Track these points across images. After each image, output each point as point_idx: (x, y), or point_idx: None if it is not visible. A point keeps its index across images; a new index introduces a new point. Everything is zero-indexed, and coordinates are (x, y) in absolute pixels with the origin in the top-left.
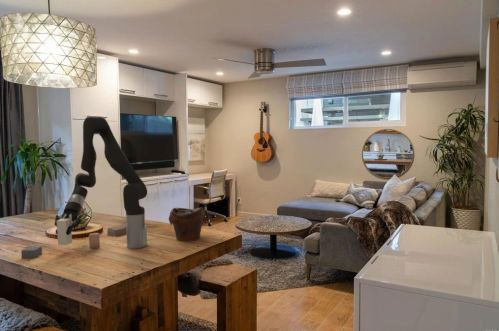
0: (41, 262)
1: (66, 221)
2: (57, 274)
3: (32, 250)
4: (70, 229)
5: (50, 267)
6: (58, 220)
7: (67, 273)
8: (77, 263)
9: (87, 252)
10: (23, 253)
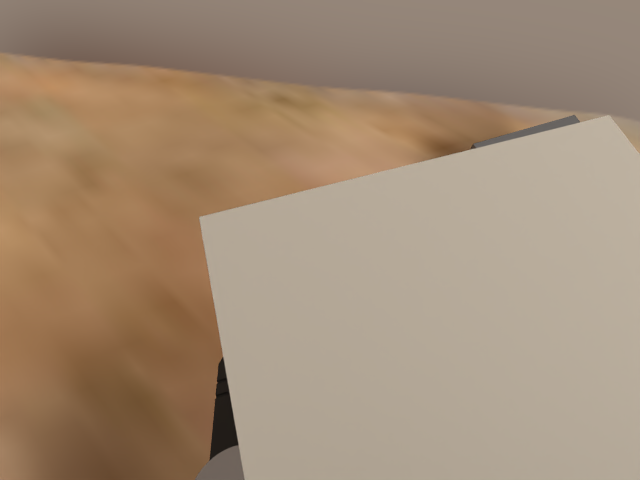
0: (316, 146)
1: (230, 314)
2: (62, 60)
3: (483, 141)
4: (217, 411)
5: (181, 109)
6: (612, 184)
7: (13, 83)
8: (45, 210)
9: (123, 467)
10: None
